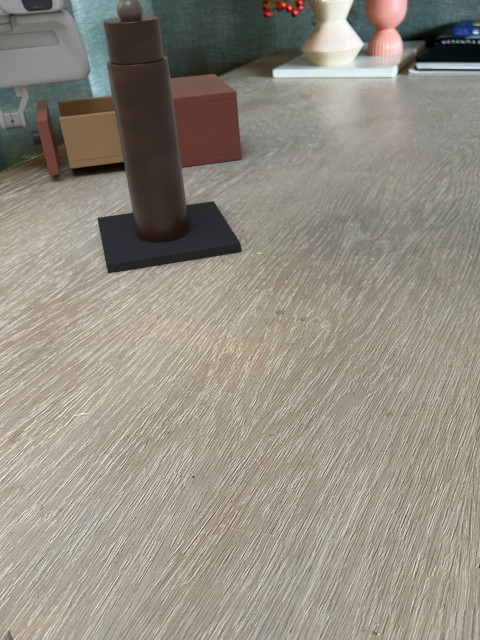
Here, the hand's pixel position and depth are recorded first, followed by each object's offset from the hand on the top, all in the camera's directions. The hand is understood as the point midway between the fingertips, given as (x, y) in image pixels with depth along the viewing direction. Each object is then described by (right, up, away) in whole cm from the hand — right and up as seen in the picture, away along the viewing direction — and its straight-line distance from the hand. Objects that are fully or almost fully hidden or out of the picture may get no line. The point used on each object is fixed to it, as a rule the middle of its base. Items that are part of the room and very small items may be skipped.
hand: (15, 127), depth 81 cm
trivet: (+21, -17, -16) cm, 31 cm away
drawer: (+8, -2, +5) cm, 10 cm away
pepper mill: (+21, -16, -17) cm, 32 cm away
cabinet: (+19, -1, +7) cm, 20 cm away
